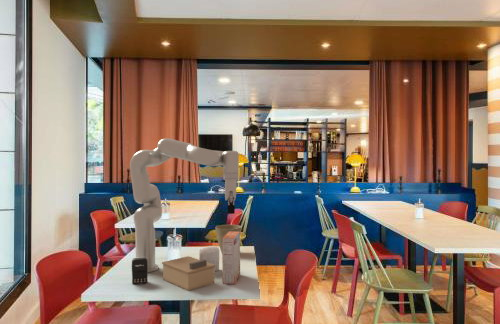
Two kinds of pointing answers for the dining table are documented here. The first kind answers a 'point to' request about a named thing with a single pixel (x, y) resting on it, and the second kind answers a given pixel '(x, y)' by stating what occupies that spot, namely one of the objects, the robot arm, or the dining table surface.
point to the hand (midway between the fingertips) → (231, 212)
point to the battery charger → (139, 270)
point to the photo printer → (210, 256)
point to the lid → (188, 264)
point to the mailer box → (188, 278)
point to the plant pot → (225, 232)
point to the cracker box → (231, 257)
